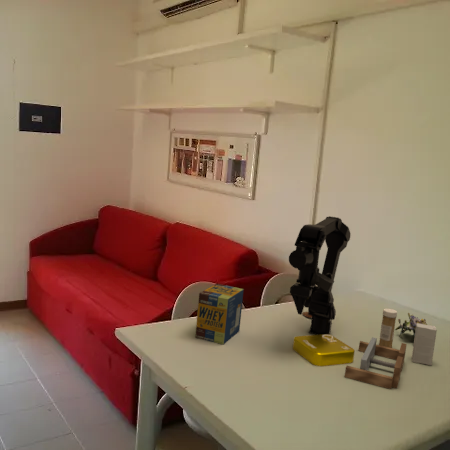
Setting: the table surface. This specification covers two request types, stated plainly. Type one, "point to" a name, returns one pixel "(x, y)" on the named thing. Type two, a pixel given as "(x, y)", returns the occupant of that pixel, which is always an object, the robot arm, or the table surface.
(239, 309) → the protein box
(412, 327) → the passion flower
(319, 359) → the element tile
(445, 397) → the table surface
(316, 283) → the robot arm
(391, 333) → the sprinkles bottle
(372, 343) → the pusher
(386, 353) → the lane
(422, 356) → the skincare box
